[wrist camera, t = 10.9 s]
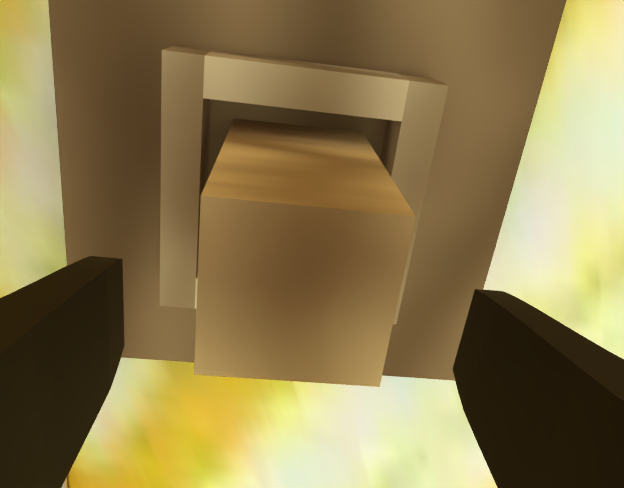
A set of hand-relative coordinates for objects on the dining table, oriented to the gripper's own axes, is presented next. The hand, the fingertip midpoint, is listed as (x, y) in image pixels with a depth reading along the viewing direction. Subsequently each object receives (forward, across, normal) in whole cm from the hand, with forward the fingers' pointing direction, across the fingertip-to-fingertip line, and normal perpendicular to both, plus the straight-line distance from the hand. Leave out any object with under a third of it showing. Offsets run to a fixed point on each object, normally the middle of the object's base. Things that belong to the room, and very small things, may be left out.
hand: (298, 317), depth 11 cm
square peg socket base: (+10, 0, 0) cm, 10 cm away
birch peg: (+9, 0, 0) cm, 9 cm away
